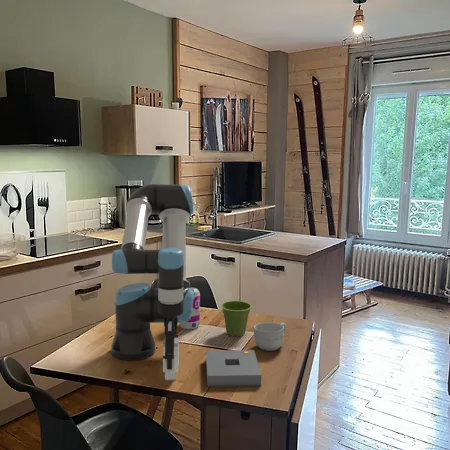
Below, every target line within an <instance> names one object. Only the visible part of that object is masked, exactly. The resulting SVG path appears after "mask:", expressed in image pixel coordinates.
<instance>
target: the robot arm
mask: <svg viewBox="0 0 450 450" xmlns="http://www.w3.org/2000/svg"><path fill="white" fill-rule="evenodd" d="M191 189H192V188H191V187H190V185H188V184H180V183H177V184H167V183H166V184H162V183H161V184H159V183H158V184H155V183H152V184H151V183H149V184H145V185H143V186H140V187H139V188H137V189H136V190H135V191H134V192H132V194H131V195H130V196H129V197H128V199H127V200H126V205H125V213H126V219H125V225H124V229H123V230H124V231H123V235H122V241H121V247H120V249H115V250H113V251H112V255H111V267H112V271H113V273H114V274H121V275H137V274H138V275H139V274H144V275H145V274H150V275H151V274H153V275H155V274H158V275H157V277H158V279H157V280H158V282H157V283H156V288H155V287H154V288H151V286H150V284H149V283H145V282H136V283H131V284H128V285H124V286H122V287H120V288H118V289H117V290H116V292H115V302H114V305H115V333H114V336H113V338H112V342H111V346H110V351H111V352H110V355H111V356H112V357H113V358H116V359H118V360H122V361H138V360H139V361H140V360H143V359H146V358H149V357H151V356H152V355H154V353H156V341H155V339H154V336H153V333H152V331H151V323H152V324H154V323H155V324H156V323H159V324H160V323H161V324H163V326H164V332H163V333H164V335H165V337H164V338H165V356H163V355H162V360H163V359H165V372H164V380H166V379H174V338H179V334H178V332H177V328H178V324H179V322H187V321H189V320H190V318H191V313H192V306H193V297H194V288H195V287H191V282H190V281H189V280H187V273H186V272H187V269H186V268H187V267H186V265H187V258H186V256H187V255H186V254H187V253H186V252H187V251H186V249H187V247H186V246H187V244H186V241H187V240H186V239H187V237H186V235H187V233H186V232H187V231H186V229H187V228H186V227H187V226H186V225H187V221H189V219H190V216H192V215H193V214H194V202H193V193H192V190H191ZM151 215H158V218H159V220H161V222H162V237H161V238H162V239H161V240H162V241H161V242H162V244H161V247H162V248H161V249H145V248H146V241H147V233H148V231H147V230H148V223H149V222H148V221H149V217H150V216H151Z"/></svg>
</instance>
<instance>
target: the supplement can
mask: <svg viewBox="0 0 450 450" xmlns="http://www.w3.org/2000/svg"><path fill="white" fill-rule="evenodd" d="M193 288H194V297H193V306H192V313H191V318H190V320H189V321H187V322H178V325H179V327H180V328H181V329H183V330H194V329H197V328H198V327H200V317H201V315H200V314H201V293H200V291H199V289H198V288H196V287H193Z"/></svg>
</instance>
